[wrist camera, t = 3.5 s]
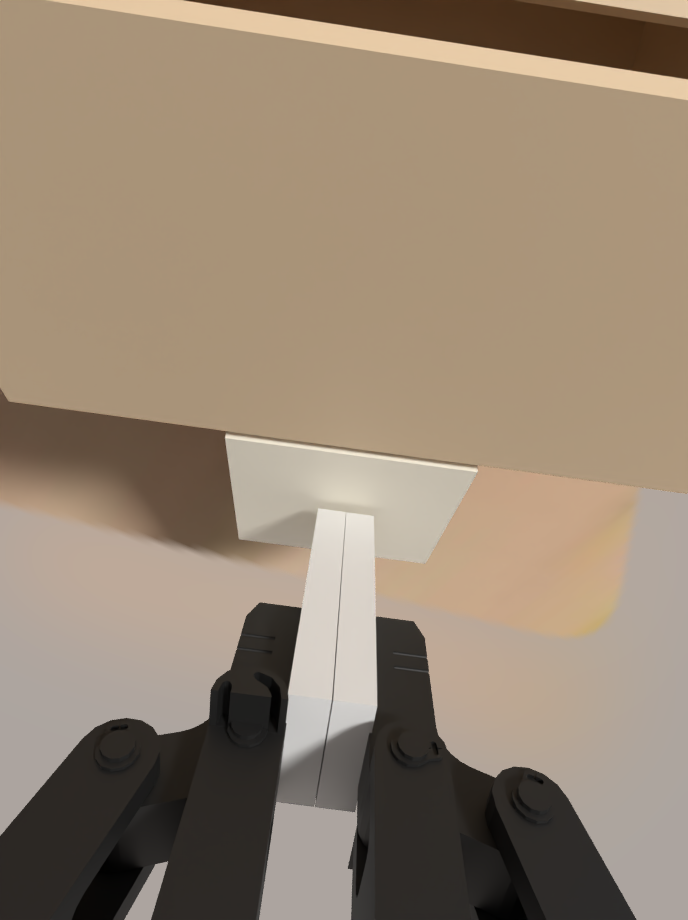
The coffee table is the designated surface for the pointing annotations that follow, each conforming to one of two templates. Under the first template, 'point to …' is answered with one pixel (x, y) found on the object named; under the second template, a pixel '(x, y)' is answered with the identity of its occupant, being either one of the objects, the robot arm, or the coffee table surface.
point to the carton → (503, 28)
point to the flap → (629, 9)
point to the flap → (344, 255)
